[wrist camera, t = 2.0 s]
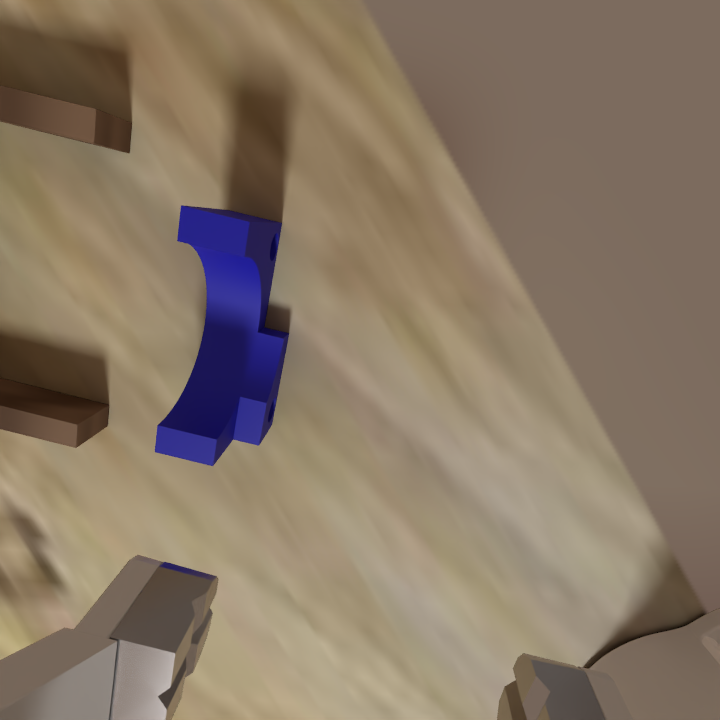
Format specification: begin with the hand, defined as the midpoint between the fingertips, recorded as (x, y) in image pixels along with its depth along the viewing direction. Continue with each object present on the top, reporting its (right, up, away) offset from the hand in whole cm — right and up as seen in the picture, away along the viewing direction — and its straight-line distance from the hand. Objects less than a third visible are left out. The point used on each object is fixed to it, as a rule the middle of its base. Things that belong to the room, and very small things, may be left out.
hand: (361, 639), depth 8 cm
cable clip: (-6, +7, +19) cm, 21 cm away
